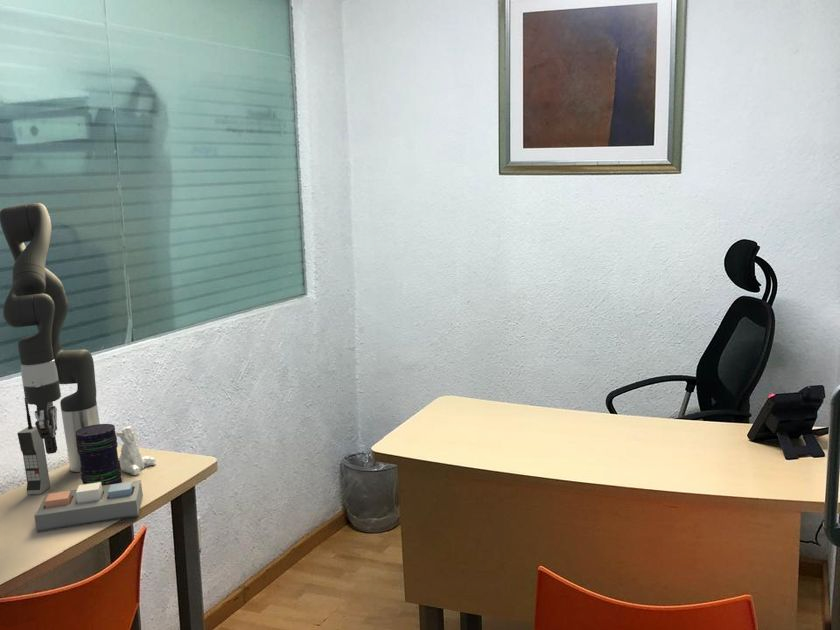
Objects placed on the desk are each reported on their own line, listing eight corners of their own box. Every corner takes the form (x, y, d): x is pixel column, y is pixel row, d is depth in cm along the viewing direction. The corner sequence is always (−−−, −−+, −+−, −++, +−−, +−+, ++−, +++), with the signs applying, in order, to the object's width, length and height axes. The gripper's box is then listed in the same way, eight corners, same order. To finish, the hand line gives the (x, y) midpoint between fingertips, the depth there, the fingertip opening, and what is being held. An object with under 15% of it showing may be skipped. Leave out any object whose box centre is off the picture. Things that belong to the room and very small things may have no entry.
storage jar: (106, 475, 227) (98, 422, 224) (130, 480, 222) (123, 425, 219) (74, 488, 218) (66, 433, 216) (99, 493, 213) (91, 437, 211)
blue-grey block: (112, 498, 204) (110, 484, 203) (134, 495, 205) (132, 481, 204) (110, 506, 199) (108, 492, 198) (132, 502, 200) (130, 488, 200)
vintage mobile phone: (26, 495, 216) (11, 401, 212) (37, 487, 221) (22, 395, 217) (40, 494, 216) (26, 400, 211) (50, 487, 221) (36, 395, 216)
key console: (48, 509, 205) (46, 493, 204) (142, 495, 210) (140, 480, 209) (37, 532, 192) (34, 515, 191) (138, 516, 196) (135, 500, 196)
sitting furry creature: (136, 476, 224) (130, 433, 222) (109, 474, 227) (103, 432, 225) (157, 463, 233) (152, 422, 231) (131, 462, 236) (125, 421, 234)
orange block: (50, 507, 201) (48, 493, 200) (73, 504, 202) (70, 490, 201) (46, 515, 196) (44, 501, 195) (69, 512, 197) (67, 498, 196)
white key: (81, 498, 202) (79, 485, 201) (103, 495, 203) (101, 481, 203) (78, 506, 197) (75, 492, 197) (100, 503, 198) (98, 489, 198)
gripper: (29, 376, 199) (40, 446, 202) (16, 389, 186) (29, 464, 189) (62, 372, 201) (73, 441, 204) (53, 385, 188) (64, 459, 191)
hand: (52, 452), depth 197 cm, fingers closed
